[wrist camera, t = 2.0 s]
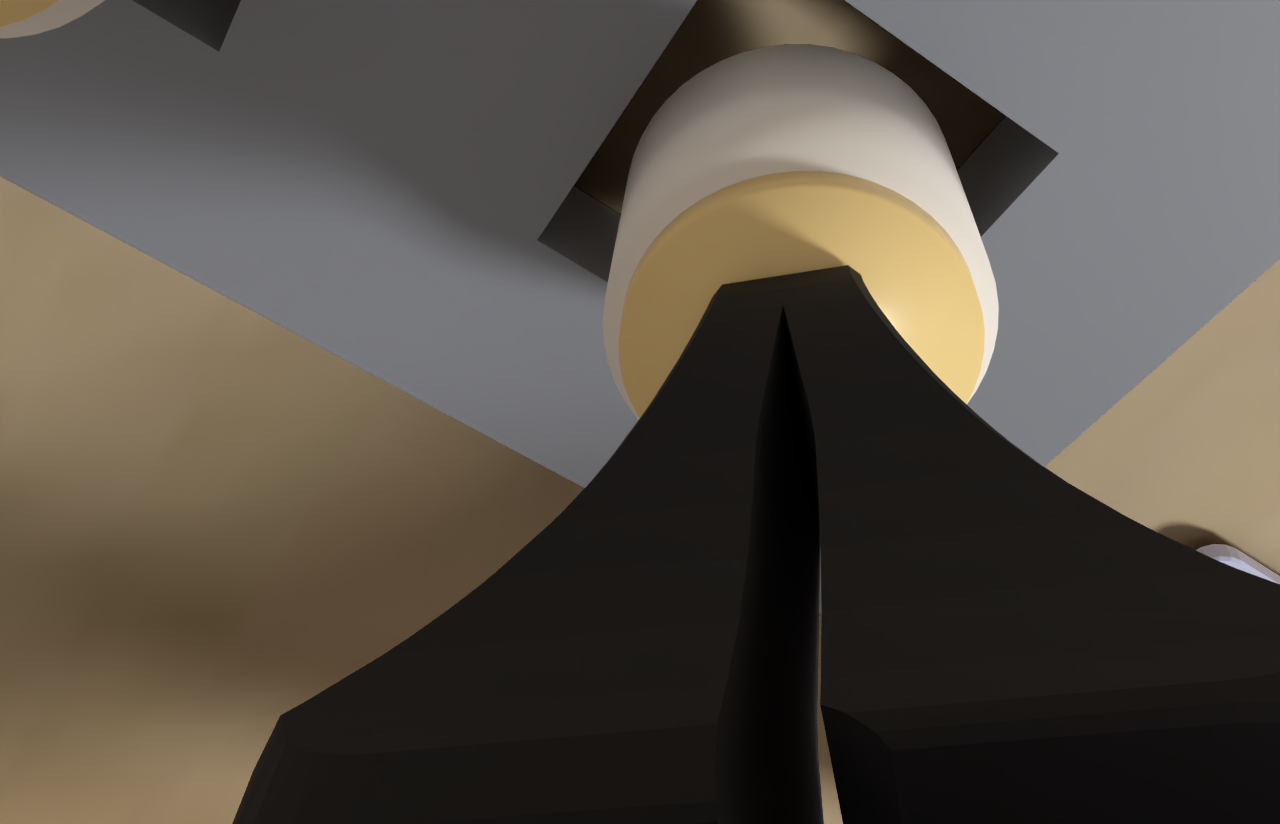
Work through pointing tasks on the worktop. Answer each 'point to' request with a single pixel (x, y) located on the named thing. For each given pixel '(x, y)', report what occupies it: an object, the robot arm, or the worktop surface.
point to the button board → (586, 229)
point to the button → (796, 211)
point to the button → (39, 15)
